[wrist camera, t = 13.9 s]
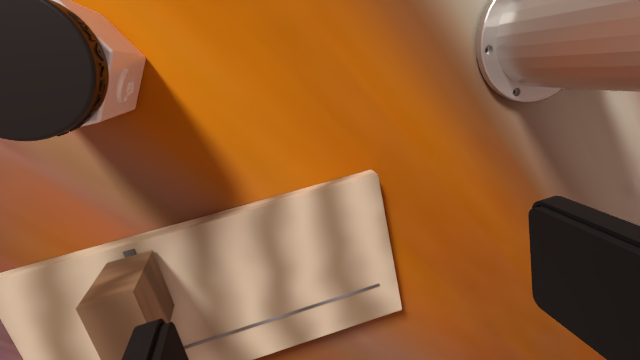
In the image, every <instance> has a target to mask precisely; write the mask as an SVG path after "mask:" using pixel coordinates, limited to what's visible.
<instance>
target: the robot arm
mask: <svg viewBox="0 0 640 360" xmlns="http://www.w3.org/2000/svg"><path fill="white" fill-rule="evenodd" d="M476 55H477V60H478V64H479V68H480V70H481V73H482V75H483V77H484V79H485V80H486V82H487V83H488V85H489V86H490V87H491V88H492V89H493V90H494V91H495V92H496V93H497V94H499V95H501V96H502V97H504V98H506V99H510V100H513V101H519V102H536V101H539V100H543V99H546V98H548V97H550V96H552V95H554V94H556V93H557V92H558V91H560V90H561V89H563V88H566V89H588V90H610V91H633V92H640V0H489V2H488V3H487V5H486V7H485V9H484V12H483V14H482V16H481V19H480V22H479V26H478V30H477V38H476ZM529 233H530V252H531V271H532V290H533V298H534V300H535V302H536V304H537V305H538V306H539V307H540V308H541V309H542V310H543V311H545V312H546V313H547V314H548V315H550V316H551V317H552V318H554V319H555V320H556V321H558V322H559V323H560V324H561V325H563V326H564V327H565V328H567V329H568V330H569V331H571V332H572V333H573V334H574V335H576V336H577V337H578V338H580V339H581V340H582V341H584V342H585V343H586V344H587V345H589V346H590V347H591V348H593V349H594V350H595V351H597V352H598V353H599V354H600V355H602V356H603V357H604V358H606V359H607V360H640V226H638V225H635V224H633V223H630V222H627V221H625V220H622V219H619V218H617V217H614V216H611V215H609V214H606V213H603V212H601V211H598V210H596V209H593V208H590V207H588V206H585V205H582V204H580V203H577V202H574V201H572V200H569V199H566V198H564V197H561V196H553V197H550V198H547V199H543V200H540V201H537V202H535V203H534V204H533V206H532V209H531V210H530V211H529ZM122 360H189V359H188V356H187V354H186V351H185V349H184V346H183V344H182V341H181V339H180V336H179V334H178V331H177V329H176V327H175V325H174V323H173V322H169V323H166V322H165V321H164V320H163V319H161V318H160V319H157V320H154V321H151V322H148V323H144V324H141V325H138V326H136V327H135V328H134V330H133V332H132V335H131V337H130V340H129V342H128V345H127V347H126V350H125V352H124V355H123V357H122Z"/></svg>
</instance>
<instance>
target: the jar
mask: <svg viewBox="0 0 640 360" xmlns="http://www.w3.org/2000/svg"><path fill="white" fill-rule="evenodd" d="M145 61H146V57H145V56H144V55H143V54H142V53H141V52H140V51H139V50H138V49H137V48H136V47H135V46H134V45H133V44H132V43H131V42H130V41H129V40H128V39H127V38H126V37H124V36H123V35H122V34H121V33H120V32H119V31H118V30H117V29H116V28H115V27H114V26H113V25H112V24H111V23H110V22H109V21H108V20H107V19H106V18H105V17H104V16H103V15H102V14H100V13H98V12H95V11H93V10H91V9H89V8H86V7H84V6H82V5H80V4H77V3H75V2H73V1H71V0H0V138H3V139H8V140H15V141H37V140H43V139H48V138H51V137H54V136H61V135H64V134H67V133H69V131H70V132H71V131H73V130H75V129H77V128H79V127H82V126H86V125H91V124H95V123H99V122H102V121H105V120H107V119H110V118H113V117H116V116H119V115H121V114H124V113H127V112H130V111H133V110H135V108H136V103H137V98H138V93H139V89H140V84H141V79H142V75H143V70H144V65H145Z"/></svg>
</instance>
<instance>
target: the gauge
mask: <svg viewBox="0 0 640 360" xmlns="http://www.w3.org/2000/svg"><path fill="white" fill-rule="evenodd" d="M173 309H174V303H173V300H172V298H171V295H170V292H169V290H168V287H167V285H166V282H165V280H164V277H163V275H162V272H161V270H160V267H159V265H158V262H157V260H156V257H155V255H154V252H153V250H150V251H147V252H143V253H140V254H136V255H133V256H129V257H126V258H122V259H119V260H115V261H112V262H108V263H106V265H105V266H104V268H103V269H102V271H101V272H100V274H99V275H98V277H97V278H96V279H95V281H94V282H93V284H92V285H91V287H90V288H89V290H88V291H87V293H86V294H85V296H84V297H83V299H82V300H81V302H80V303H79V304H78V306H77V307H76V311H77V313H78V315H79V317H80V319H81V321H82V323H83V325H84V327H85V329H86V331H87V333H88V335H89V337H90V339H91V341H92V343H93V345H94V347H95V349H96V351H97V353H98V355H99V357H100V359H101V360H122V357H123V355H124V352H125V350H126V347H127V345H128V342H129V340H130V337H131V335H132V332H133V330H134V328H135V327H136V326H138V325H141V324H144V323H148V322H151V321H154V320H157V319H160V318H161V319H163V320H164V321H165V322H166V323H169V322H170V321H171V317H172V313H173Z"/></svg>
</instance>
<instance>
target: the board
mask: <svg viewBox="0 0 640 360" xmlns="http://www.w3.org/2000/svg"><path fill="white" fill-rule="evenodd" d="M150 250H153V252H154V255H155V257H156V260H157V262H158V265H159V267H160V270H161V272H162V275H163V277H164V280H165V282H166V285H167V287H168V290H169V292H170V295H171V298H172V300H173V303H174V309H173V313H172V317H171V321H170V322H173V323H174V325H175V327H176V329H177V331H178V334H179V336H180V339H181V341H182V344H183V346H184V349H185V351H186V354H187V356H188V359H189V360H254V359H257V358H260V357H262V356H265V355H268V354H271V353H274V352H277V351H280V350H283V349H286V348H289V347H292V346H295V345H298V344H301V343H304V342H307V341H310V340H313V339H316V338H319V337H322V336H325V335H328V334H331V333H334V332H337V331H340V330H343V329H346V328H349V327H352V326H355V325H358V324H361V323H364V322H367V321H370V320H372V319H375V318H378V317H381V316H384V315H387V314H390V313H393V312H396V311H399V310H402V306H401V300H400V295H399V289H398V284H397V278H396V272H395V267H394V261H393V256H392V250H391V245H390V239H389V233H388V228H387V222H386V217H385V211H384V205H383V200H382V194H381V189H380V183H379V178H378V174H377V173H375V172H374V171H372V170H368V171H364V172H361V173H357V174H354V175H350V176H346V177H343V178H339V179H336V180H332V181H328V182H325V183H321V184H318V185H314V186H311V187H307V188H303V189H300V190H296V191H293V192H289V193H285V194H282V195H278V196H275V197H271V198H267V199H264V200H260V201H257V202H253V203H250V204H246V205H242V206H239V207H235V208H232V209H228V210H224V211H221V212H217V213H214V214H210V215H206V216H203V217H199V218H196V219H192V220H189V221H185V222H181V223H178V224H174V225H171V226H167V227H163V228H160V229H156V230H153V231H149V232H145V233H142V234H138V235H135V236H131V237H127V238H124V239H120V240H117V241H113V242H110V243H106V244H102V245H99V246H95V247H92V248H88V249H84V250H81V251H77V252H74V253H70V254H66V255H63V256H59V257H56V258H52V259H49V260H45V261H41V262H38V263H34V264H31V265H27V266H23V267H20V268H16V269H13V270H9V271H5V272H2V273H0V319H1V321H2V323H3V324H4V326H5V328H6V330H7V331H8V333H9V335H10V337H11V338H12V340H13V342H14V344H15V345H16V347H17V349H18V351H19V352H20V354H21V356H22V358H23V359H24V360H101V359H100V357H99V355H98V353H97V351H96V349H95V347H94V345H93V343H92V341H91V339H90V337H89V335H88V333H87V331H86V329H85V327H84V325H83V323H82V321H81V319H80V317H79V315H78V313H77V311H76V307H77V306H78V304H79V303H80V302H81V300H82V299H83V297H84V296H85V294H86V293H87V291H88V290H89V288H90V287H91V285H92V284H93V282H94V281H95V279H96V278H97V277H98V275H99V274H100V272H101V271H102V269H103V268H104V266H105V265H106V263H108V262H112V261H115V260H119V259H122V258H126V257H129V256H133V255H136V254H140V253H143V252H147V251H150Z"/></svg>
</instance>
